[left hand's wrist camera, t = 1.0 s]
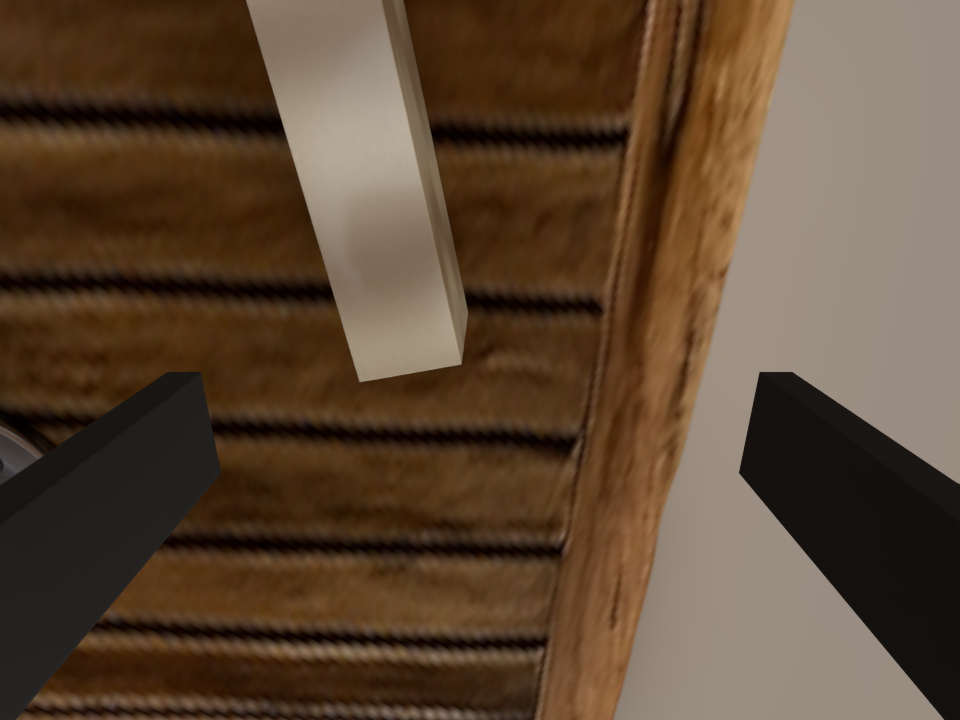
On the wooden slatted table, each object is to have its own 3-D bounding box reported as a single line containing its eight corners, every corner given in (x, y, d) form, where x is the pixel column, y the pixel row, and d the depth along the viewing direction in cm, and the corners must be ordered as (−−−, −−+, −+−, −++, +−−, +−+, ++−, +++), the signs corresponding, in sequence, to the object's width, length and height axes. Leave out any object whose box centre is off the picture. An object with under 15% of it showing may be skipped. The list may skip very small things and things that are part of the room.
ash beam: (468, 313, 30) (461, 364, 22) (391, 327, 30) (359, 382, 22) (338, -315, 21) (253, -586, 13) (230, -284, 21) (87, -531, 13)
